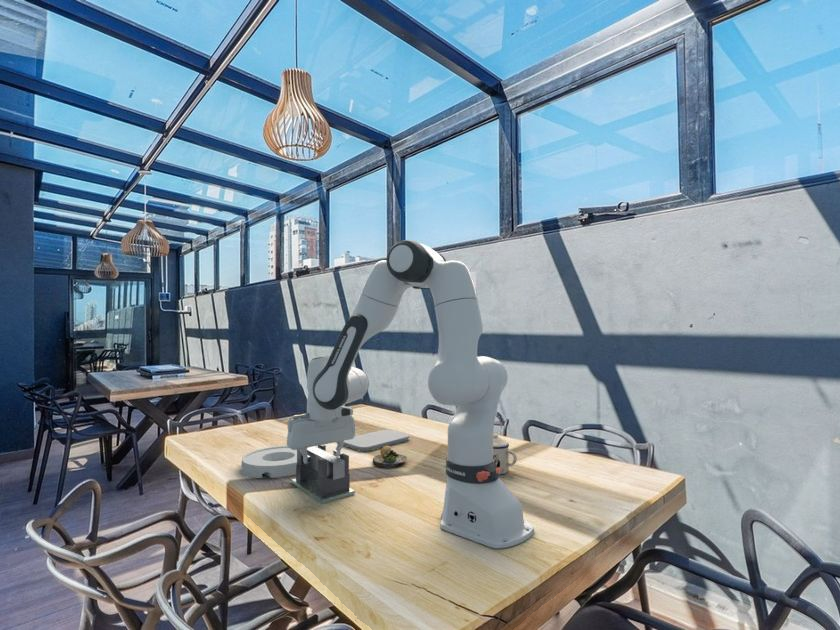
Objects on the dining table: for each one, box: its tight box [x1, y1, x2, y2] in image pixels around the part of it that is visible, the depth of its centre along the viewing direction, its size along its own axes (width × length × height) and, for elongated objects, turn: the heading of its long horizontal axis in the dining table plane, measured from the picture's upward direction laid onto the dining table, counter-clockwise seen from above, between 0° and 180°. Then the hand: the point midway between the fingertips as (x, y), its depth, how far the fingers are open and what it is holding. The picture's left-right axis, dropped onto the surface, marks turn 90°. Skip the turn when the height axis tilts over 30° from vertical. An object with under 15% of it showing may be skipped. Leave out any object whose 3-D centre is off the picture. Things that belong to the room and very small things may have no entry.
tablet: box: [343, 429, 410, 452], centre depth 174 cm, size 16×26×2 cm, turn 136°
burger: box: [372, 443, 408, 469], centre depth 147 cm, size 12×12×8 cm
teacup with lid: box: [493, 433, 517, 475], centre depth 138 cm, size 12×9×12 cm
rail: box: [305, 446, 345, 480], centre depth 124 cm, size 20×4×4 cm, turn 39°
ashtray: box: [241, 445, 297, 479], centre depth 144 cm, size 23×23×4 cm
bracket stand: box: [290, 444, 356, 504], centre depth 124 cm, size 20×10×10 cm, turn 39°
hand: (322, 459), depth 124 cm, fingers open, 8 cm apart
